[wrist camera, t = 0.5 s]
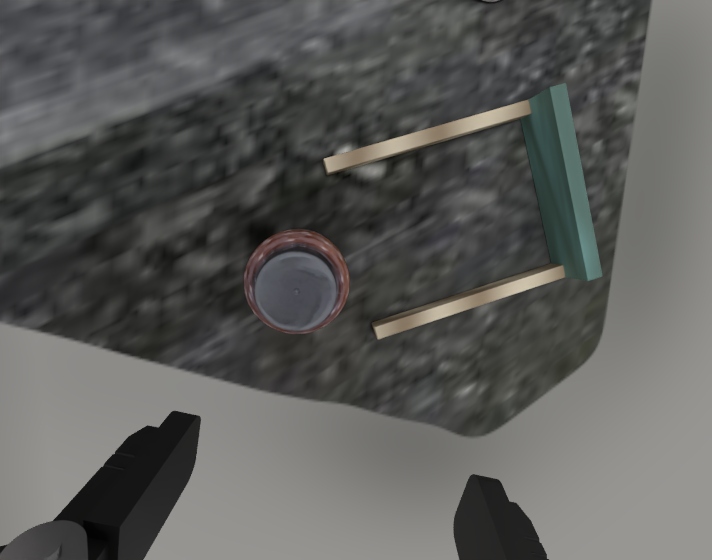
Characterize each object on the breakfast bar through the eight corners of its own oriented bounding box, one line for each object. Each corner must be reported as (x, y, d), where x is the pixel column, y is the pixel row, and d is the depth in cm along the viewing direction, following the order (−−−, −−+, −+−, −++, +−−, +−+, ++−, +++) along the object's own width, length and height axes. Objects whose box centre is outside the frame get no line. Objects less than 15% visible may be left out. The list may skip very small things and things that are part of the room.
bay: (374, 334, 31) (384, 349, 27) (322, 162, 29) (325, 151, 25) (566, 270, 32) (602, 276, 28) (531, 102, 30) (565, 82, 26)
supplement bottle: (261, 226, 29) (232, 224, 18) (340, 229, 30) (360, 230, 18) (260, 304, 29) (232, 350, 18) (337, 305, 30) (355, 350, 19)
